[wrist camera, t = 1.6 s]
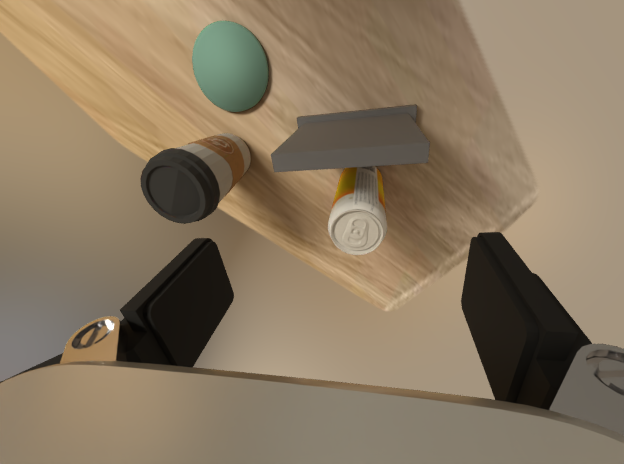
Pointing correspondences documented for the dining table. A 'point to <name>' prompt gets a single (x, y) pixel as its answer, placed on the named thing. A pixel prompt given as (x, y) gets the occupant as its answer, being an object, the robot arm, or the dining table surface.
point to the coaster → (230, 66)
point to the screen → (354, 140)
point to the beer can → (358, 211)
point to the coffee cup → (194, 177)
